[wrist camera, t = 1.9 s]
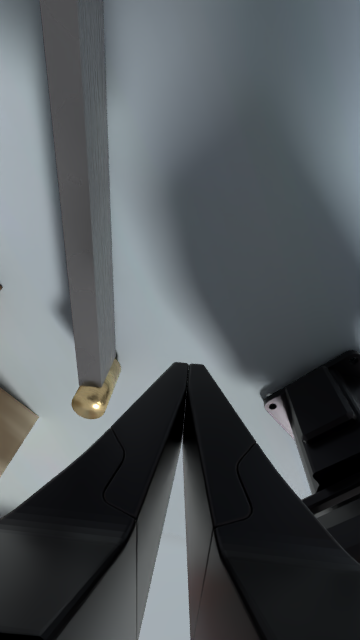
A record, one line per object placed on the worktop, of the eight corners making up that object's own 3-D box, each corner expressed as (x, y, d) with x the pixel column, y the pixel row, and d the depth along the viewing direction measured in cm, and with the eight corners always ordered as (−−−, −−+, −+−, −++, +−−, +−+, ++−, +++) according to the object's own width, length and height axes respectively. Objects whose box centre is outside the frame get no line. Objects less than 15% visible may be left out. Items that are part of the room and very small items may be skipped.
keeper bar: (121, 380, 20) (105, 420, 17) (93, 377, 20) (73, 417, 17) (107, -138, 11) (66, -258, 8) (53, -139, 11) (-9, -261, 8)
